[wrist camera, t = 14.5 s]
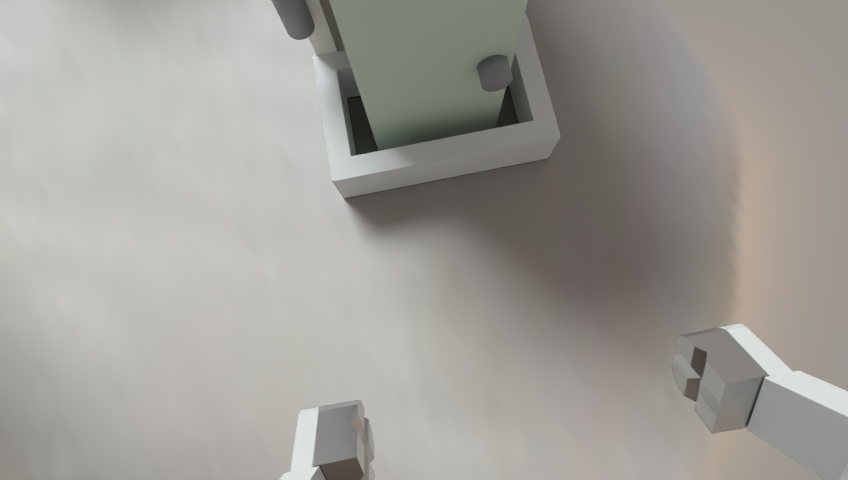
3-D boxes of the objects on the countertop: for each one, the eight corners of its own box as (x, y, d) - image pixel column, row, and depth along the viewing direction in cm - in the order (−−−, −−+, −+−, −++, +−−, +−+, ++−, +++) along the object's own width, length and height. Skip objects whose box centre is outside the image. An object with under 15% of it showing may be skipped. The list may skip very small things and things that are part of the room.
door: (381, 167, 23) (310, -41, 11) (371, 111, 24) (293, -148, 11) (498, 144, 23) (566, -90, 11) (484, 88, 24) (532, -194, 11)
